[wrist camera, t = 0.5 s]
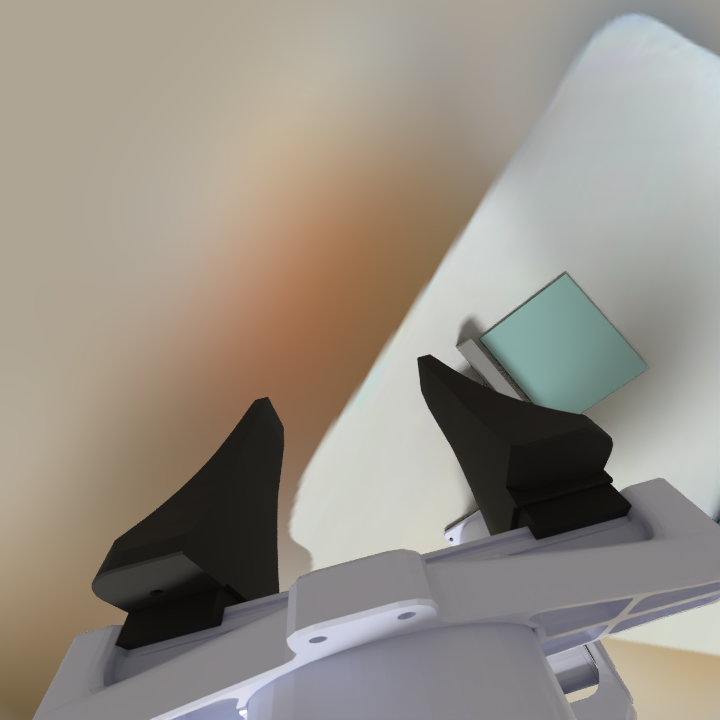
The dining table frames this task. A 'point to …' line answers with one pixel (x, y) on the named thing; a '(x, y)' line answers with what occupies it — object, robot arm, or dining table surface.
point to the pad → (563, 350)
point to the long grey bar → (485, 368)
